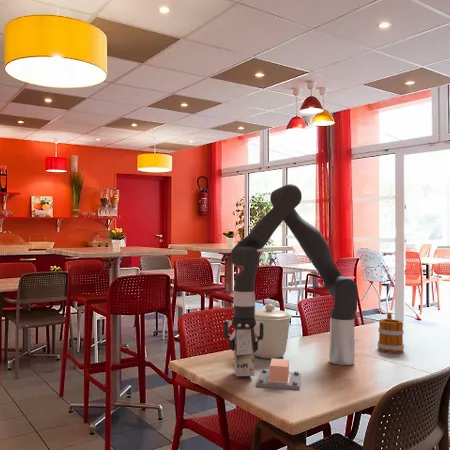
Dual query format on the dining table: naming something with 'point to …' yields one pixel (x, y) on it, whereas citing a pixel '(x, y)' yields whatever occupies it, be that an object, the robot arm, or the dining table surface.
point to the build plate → (291, 384)
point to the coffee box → (244, 351)
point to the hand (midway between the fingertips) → (243, 350)
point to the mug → (390, 335)
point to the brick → (279, 370)
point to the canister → (272, 332)
